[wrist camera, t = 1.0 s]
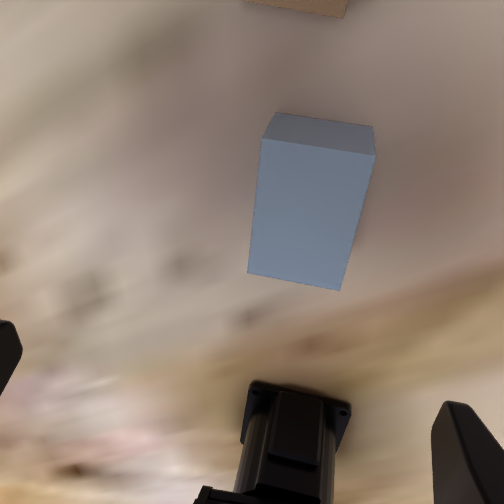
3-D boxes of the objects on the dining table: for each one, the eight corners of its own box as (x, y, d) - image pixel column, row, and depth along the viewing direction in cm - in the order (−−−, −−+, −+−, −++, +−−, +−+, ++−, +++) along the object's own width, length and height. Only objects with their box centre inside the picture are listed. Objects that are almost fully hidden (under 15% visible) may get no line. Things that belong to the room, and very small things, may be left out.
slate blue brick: (341, 247, 21) (339, 291, 18) (261, 232, 21) (247, 273, 18) (372, 125, 17) (376, 156, 15) (276, 111, 18) (261, 137, 15)
